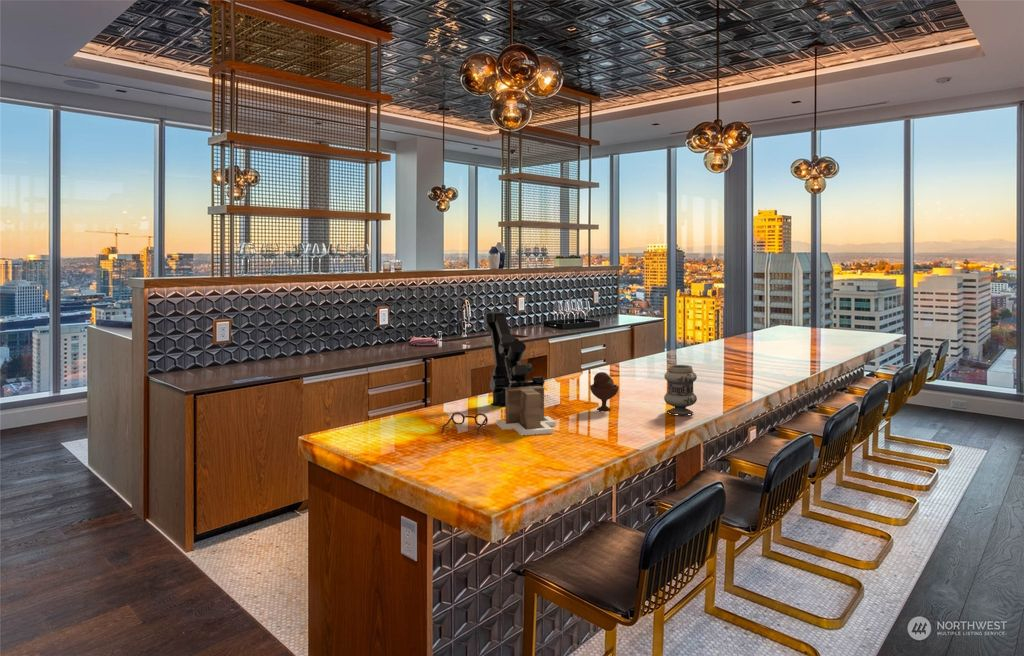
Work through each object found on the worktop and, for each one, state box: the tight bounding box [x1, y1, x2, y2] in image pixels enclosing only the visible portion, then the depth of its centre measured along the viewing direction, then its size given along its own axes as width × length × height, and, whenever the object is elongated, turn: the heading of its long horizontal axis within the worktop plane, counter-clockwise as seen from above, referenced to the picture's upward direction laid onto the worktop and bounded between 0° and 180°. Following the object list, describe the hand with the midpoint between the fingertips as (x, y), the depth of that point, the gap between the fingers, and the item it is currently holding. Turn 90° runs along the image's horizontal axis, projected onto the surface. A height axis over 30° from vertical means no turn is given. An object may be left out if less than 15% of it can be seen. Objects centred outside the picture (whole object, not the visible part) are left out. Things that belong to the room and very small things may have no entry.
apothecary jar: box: [663, 364, 698, 415], centre depth 245 cm, size 12×12×18 cm
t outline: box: [495, 415, 557, 437], centre depth 226 cm, size 17×19×2 cm
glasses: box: [441, 411, 489, 436], centre depth 224 cm, size 13×13×5 cm
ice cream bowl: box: [589, 371, 620, 412], centre depth 251 cm, size 11×11×15 cm
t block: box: [505, 386, 545, 429], centre depth 226 cm, size 13×13×13 cm
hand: (522, 404), depth 233 cm, fingers closed
